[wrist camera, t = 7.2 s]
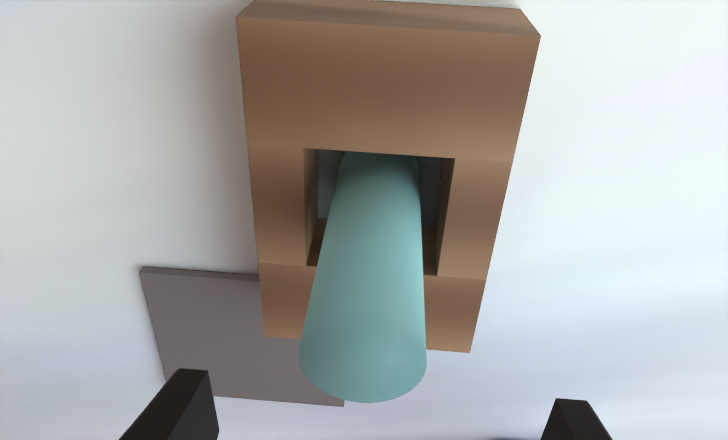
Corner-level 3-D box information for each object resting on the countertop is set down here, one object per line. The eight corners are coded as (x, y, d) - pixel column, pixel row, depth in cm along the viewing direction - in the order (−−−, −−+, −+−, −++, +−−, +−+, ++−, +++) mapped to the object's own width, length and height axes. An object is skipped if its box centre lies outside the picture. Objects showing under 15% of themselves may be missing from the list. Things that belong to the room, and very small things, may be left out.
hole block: (463, 299, 23) (469, 353, 21) (279, 285, 23) (264, 336, 21) (520, 9, 16) (540, 35, 14) (261, -7, 17) (235, 17, 14)
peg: (410, 213, 21) (412, 410, 13) (334, 201, 21) (293, 393, 13) (426, 144, 19) (439, 325, 12) (343, 131, 19) (303, 305, 12)
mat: (344, 400, 27) (343, 406, 27) (172, 385, 28) (169, 392, 27) (348, 282, 23) (347, 288, 23) (143, 266, 23) (138, 272, 23)
